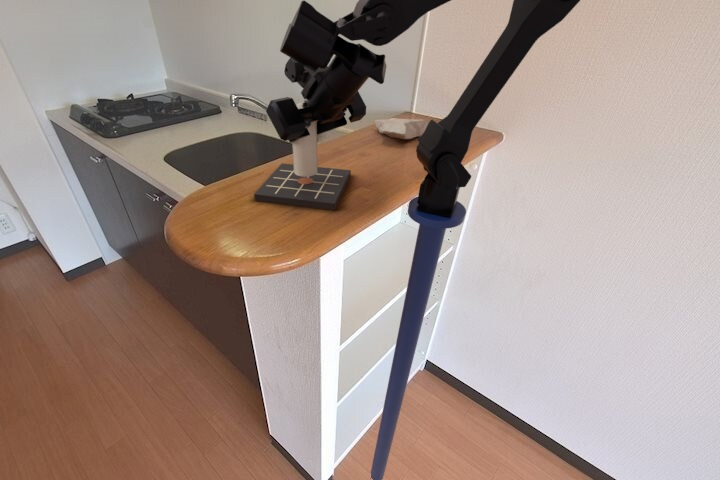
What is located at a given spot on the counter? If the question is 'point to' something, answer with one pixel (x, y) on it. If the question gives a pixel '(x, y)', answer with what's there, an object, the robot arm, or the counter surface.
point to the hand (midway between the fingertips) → (300, 137)
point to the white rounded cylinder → (306, 152)
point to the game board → (304, 187)
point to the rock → (402, 127)
